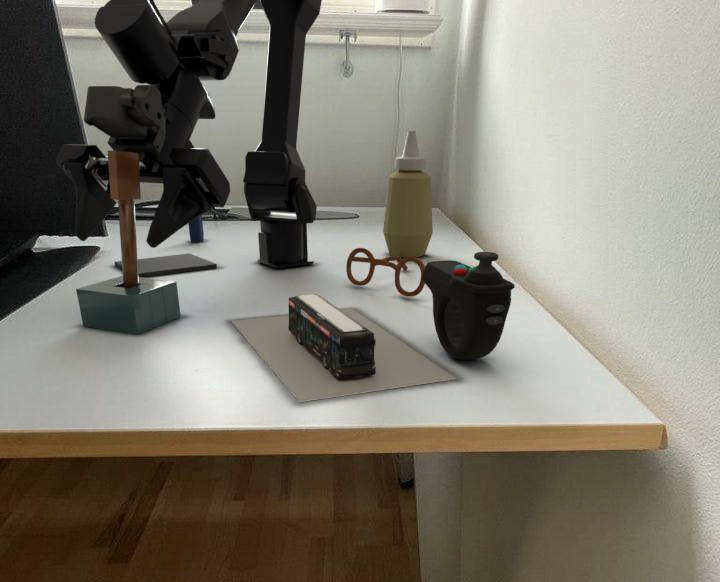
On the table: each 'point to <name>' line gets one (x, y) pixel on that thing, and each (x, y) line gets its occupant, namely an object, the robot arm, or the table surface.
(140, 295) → the holder
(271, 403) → the table surface
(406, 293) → the glasses
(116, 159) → the brown rod with block
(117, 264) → the mat
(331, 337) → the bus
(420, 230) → the squeeze bottle
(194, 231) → the eraser
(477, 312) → the controller
